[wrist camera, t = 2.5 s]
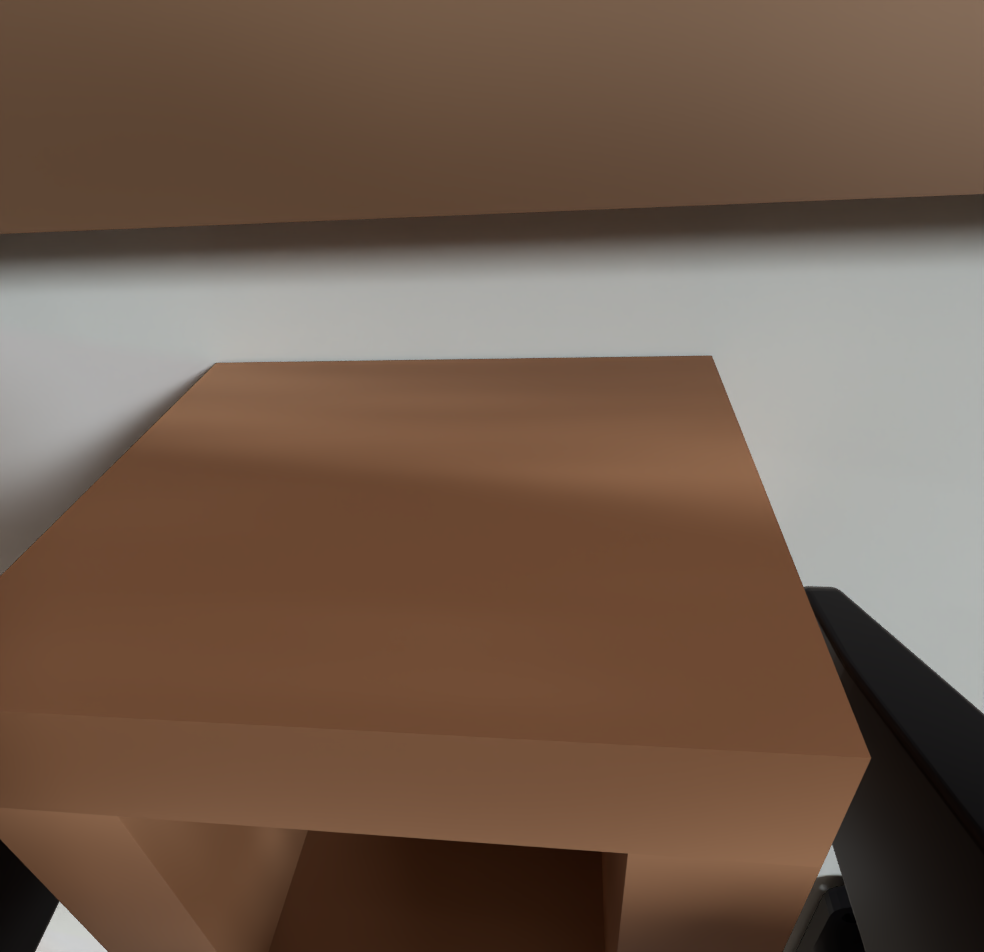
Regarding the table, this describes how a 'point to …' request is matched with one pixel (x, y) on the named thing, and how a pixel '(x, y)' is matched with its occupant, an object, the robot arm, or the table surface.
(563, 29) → the wooden board with peg
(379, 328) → the table surface
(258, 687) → the bead
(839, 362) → the table surface
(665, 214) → the table surface
